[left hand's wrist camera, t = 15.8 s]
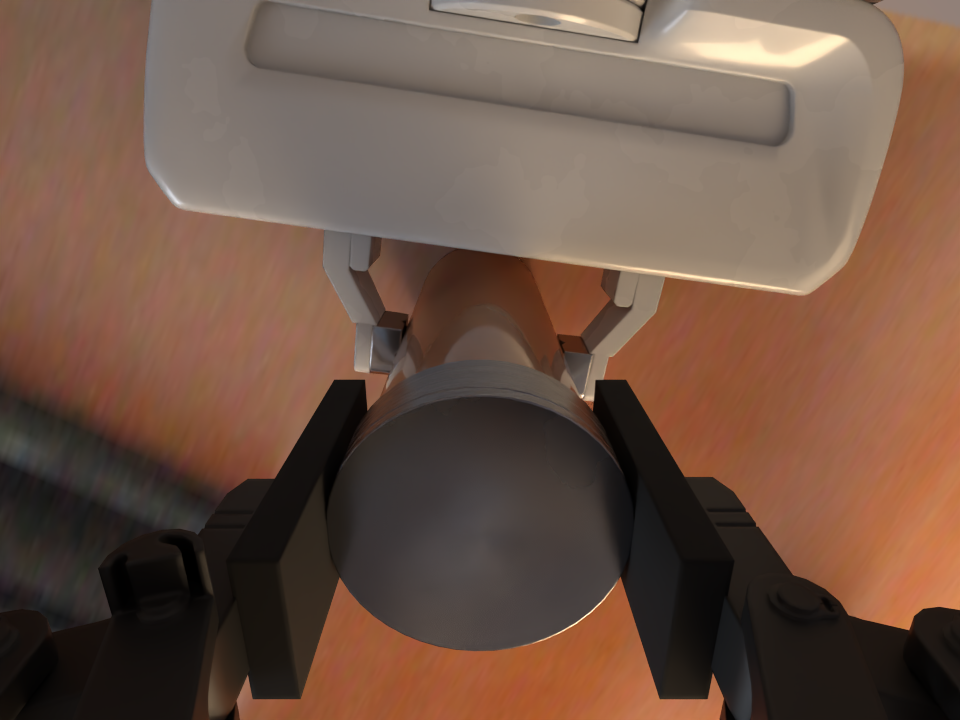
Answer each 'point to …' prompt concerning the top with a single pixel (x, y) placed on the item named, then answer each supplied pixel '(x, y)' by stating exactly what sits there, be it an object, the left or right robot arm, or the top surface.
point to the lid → (480, 508)
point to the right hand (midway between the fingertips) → (477, 380)
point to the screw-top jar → (480, 319)
